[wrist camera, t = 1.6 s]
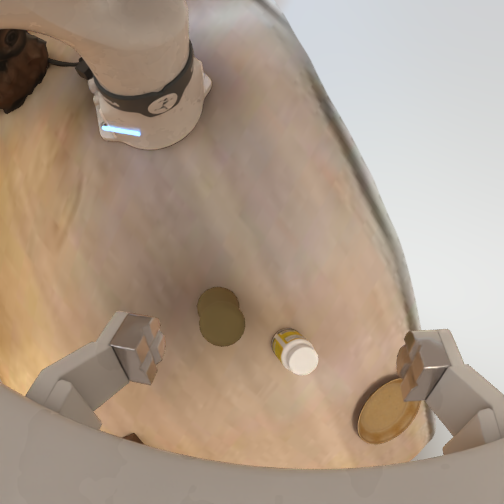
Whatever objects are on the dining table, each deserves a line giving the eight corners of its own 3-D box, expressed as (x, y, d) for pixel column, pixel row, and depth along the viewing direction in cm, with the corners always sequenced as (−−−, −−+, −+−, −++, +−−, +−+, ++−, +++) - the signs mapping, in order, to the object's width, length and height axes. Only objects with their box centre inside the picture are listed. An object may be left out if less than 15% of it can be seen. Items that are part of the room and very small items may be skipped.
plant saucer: (350, 388, 46) (357, 394, 44) (416, 362, 49) (424, 366, 46) (351, 447, 47) (356, 454, 44) (411, 421, 49) (418, 426, 47)
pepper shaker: (206, 280, 42) (208, 291, 31) (245, 296, 43) (260, 312, 32) (190, 318, 42) (186, 342, 31) (229, 334, 43) (238, 361, 32)
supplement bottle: (287, 362, 44) (304, 384, 36) (264, 345, 44) (278, 366, 35) (307, 338, 45) (328, 356, 36) (285, 321, 44) (302, 337, 36)
